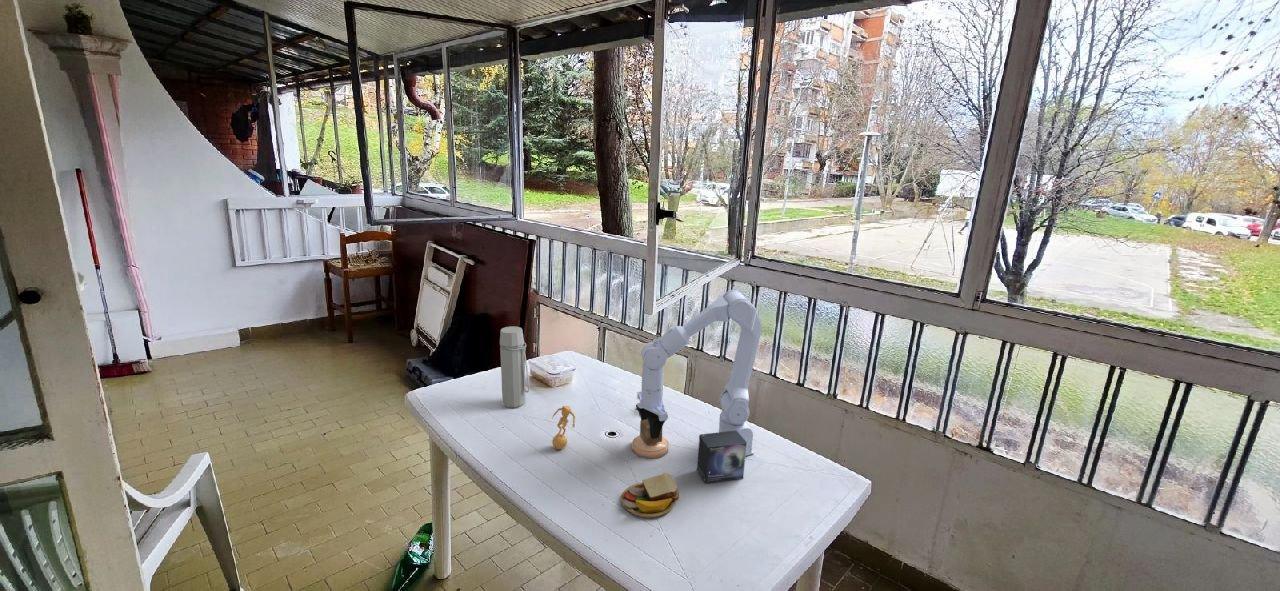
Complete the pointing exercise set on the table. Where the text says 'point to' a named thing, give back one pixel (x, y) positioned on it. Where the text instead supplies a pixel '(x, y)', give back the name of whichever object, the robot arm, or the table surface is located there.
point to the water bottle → (513, 366)
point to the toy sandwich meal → (651, 496)
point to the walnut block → (648, 433)
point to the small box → (721, 456)
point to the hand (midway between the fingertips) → (650, 433)
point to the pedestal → (650, 448)
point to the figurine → (560, 439)
